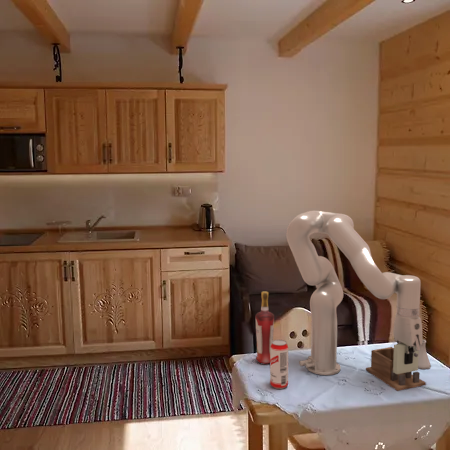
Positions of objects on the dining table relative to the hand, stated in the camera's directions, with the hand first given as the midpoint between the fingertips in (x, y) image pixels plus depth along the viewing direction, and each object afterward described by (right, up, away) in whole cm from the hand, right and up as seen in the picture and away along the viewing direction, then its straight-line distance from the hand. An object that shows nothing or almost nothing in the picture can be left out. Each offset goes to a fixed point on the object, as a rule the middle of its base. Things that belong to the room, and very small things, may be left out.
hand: (405, 361), depth 178 cm
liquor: (-48, -6, +21) cm, 53 cm away
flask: (+11, -6, +16) cm, 21 cm away
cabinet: (-2, -7, +6) cm, 10 cm away
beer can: (-44, -9, 0) cm, 45 cm away
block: (0, -3, 0) cm, 3 cm away
